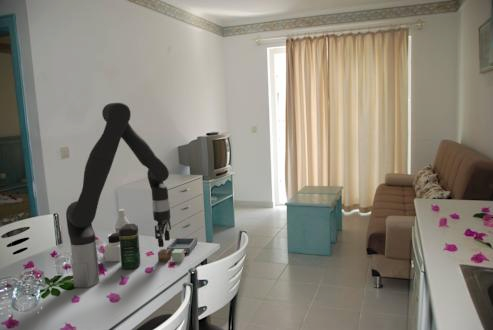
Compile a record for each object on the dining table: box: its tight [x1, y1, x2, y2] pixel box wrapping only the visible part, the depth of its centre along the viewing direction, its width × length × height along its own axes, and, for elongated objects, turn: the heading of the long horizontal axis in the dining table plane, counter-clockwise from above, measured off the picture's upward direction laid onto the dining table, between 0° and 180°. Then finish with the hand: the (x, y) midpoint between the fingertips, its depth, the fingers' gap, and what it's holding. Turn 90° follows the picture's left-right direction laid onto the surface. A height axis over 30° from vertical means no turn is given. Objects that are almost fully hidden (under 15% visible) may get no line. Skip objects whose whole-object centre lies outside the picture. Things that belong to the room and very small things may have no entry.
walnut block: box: [157, 248, 172, 263], centre depth 182 cm, size 4×4×4 cm
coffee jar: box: [119, 223, 141, 270], centre depth 176 cm, size 10×8×19 cm
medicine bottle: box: [103, 232, 121, 263], centre depth 185 cm, size 7×7×12 cm
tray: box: [166, 237, 198, 255], centre depth 196 cm, size 15×11×3 cm
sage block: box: [171, 249, 186, 263], centre depth 181 cm, size 4×4×4 cm
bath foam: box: [115, 208, 131, 233], centre depth 199 cm, size 7×7×20 cm
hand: (164, 243), depth 181 cm, fingers open, 8 cm apart
